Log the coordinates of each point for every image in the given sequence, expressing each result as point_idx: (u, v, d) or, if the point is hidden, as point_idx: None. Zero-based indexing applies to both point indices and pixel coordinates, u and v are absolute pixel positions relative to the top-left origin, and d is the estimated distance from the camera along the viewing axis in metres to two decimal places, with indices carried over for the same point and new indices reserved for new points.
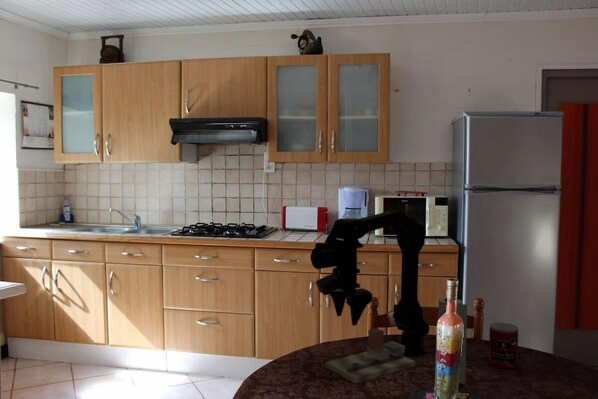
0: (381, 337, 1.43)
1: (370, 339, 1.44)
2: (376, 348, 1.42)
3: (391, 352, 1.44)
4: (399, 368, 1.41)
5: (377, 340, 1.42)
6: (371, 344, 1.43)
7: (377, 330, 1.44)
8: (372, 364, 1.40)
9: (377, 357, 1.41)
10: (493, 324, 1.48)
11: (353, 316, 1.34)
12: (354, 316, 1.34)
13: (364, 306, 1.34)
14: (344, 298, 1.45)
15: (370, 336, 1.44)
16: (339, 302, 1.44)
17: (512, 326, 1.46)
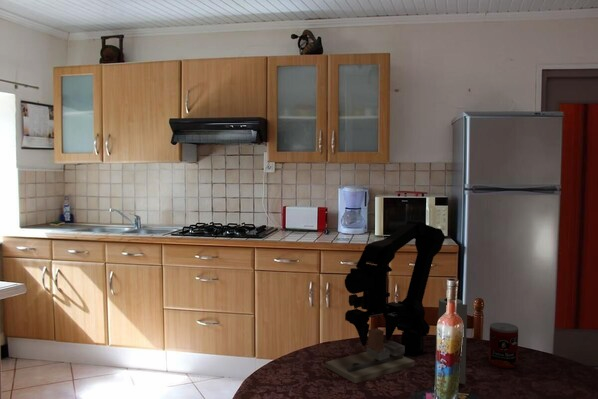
0: (381, 337, 1.43)
1: (370, 339, 1.44)
2: (376, 348, 1.42)
3: (391, 352, 1.44)
4: (399, 368, 1.41)
5: (377, 340, 1.42)
6: (371, 344, 1.43)
7: (377, 330, 1.44)
8: (372, 364, 1.40)
9: (377, 357, 1.41)
10: (493, 324, 1.48)
11: (359, 335, 1.41)
12: (360, 336, 1.41)
13: (363, 329, 1.38)
14: (393, 324, 1.45)
15: (370, 336, 1.44)
16: (388, 326, 1.46)
17: (512, 326, 1.46)
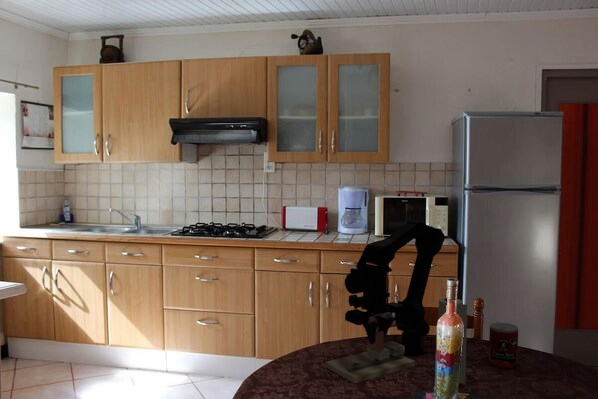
0: (381, 337, 1.43)
1: None
2: (376, 348, 1.42)
3: (391, 352, 1.44)
4: (399, 368, 1.41)
5: (377, 340, 1.42)
6: (371, 344, 1.43)
7: (377, 330, 1.44)
8: (372, 364, 1.40)
9: (377, 357, 1.41)
10: (493, 324, 1.48)
11: (367, 334, 1.43)
12: (367, 334, 1.43)
13: (371, 328, 1.40)
14: (385, 326, 1.43)
15: None
16: (381, 328, 1.45)
17: (512, 326, 1.46)
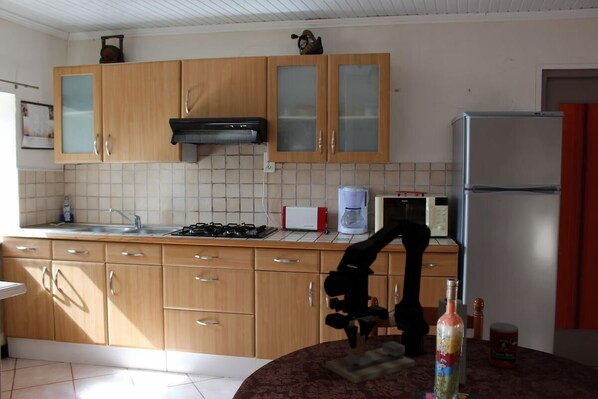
0: (362, 341, 1.39)
1: None
2: (357, 353, 1.38)
3: (391, 352, 1.44)
4: (399, 368, 1.41)
5: (358, 345, 1.38)
6: None
7: (358, 334, 1.40)
8: (372, 364, 1.40)
9: (358, 362, 1.37)
10: (493, 324, 1.48)
11: (348, 338, 1.39)
12: (348, 338, 1.39)
13: (352, 332, 1.36)
14: (367, 330, 1.39)
15: None
16: (362, 332, 1.41)
17: (512, 326, 1.46)
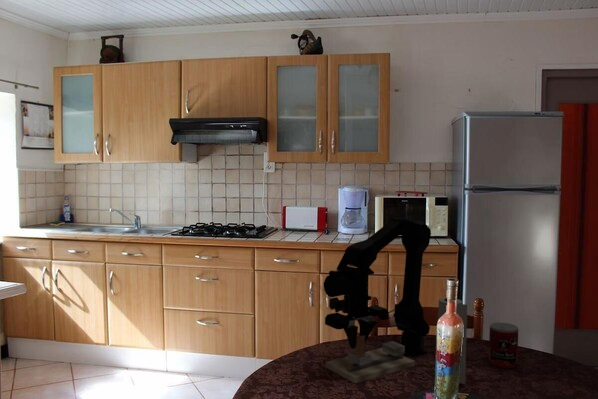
0: (362, 341, 1.39)
1: None
2: (357, 353, 1.38)
3: (391, 352, 1.44)
4: (399, 368, 1.41)
5: (358, 345, 1.38)
6: None
7: (358, 334, 1.40)
8: (372, 364, 1.40)
9: (358, 362, 1.37)
10: (493, 324, 1.48)
11: (347, 338, 1.39)
12: (348, 338, 1.39)
13: (352, 332, 1.36)
14: (367, 330, 1.39)
15: None
16: (362, 332, 1.41)
17: (512, 326, 1.46)
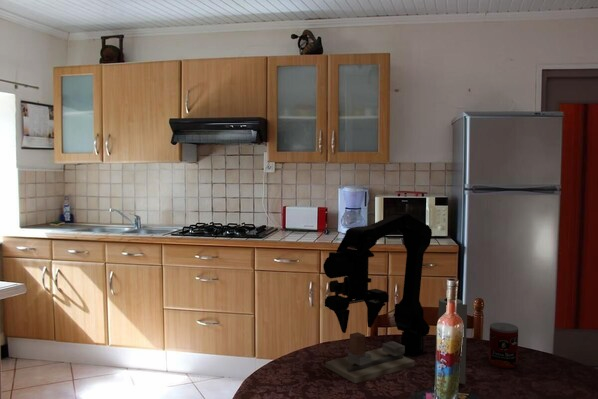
0: (362, 341, 1.39)
1: (351, 343, 1.40)
2: (357, 353, 1.38)
3: (391, 352, 1.44)
4: (399, 368, 1.41)
5: (358, 345, 1.38)
6: (352, 348, 1.39)
7: (358, 334, 1.40)
8: (372, 364, 1.40)
9: (358, 362, 1.37)
10: (493, 324, 1.48)
11: (339, 322, 1.37)
12: (340, 322, 1.37)
13: (343, 315, 1.34)
14: (374, 311, 1.41)
15: (351, 340, 1.40)
16: (370, 314, 1.42)
17: (512, 326, 1.46)
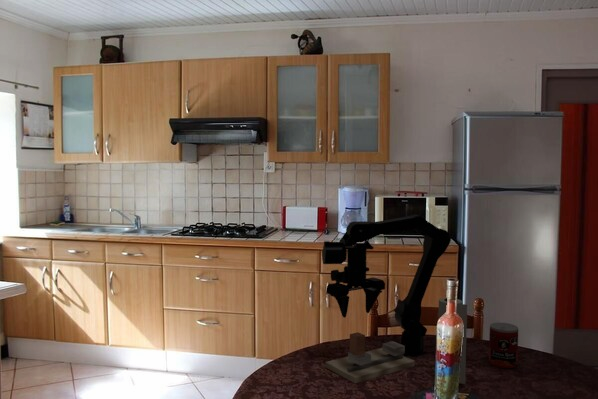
0: (362, 341, 1.39)
1: (351, 343, 1.40)
2: (357, 353, 1.38)
3: (391, 352, 1.44)
4: (399, 368, 1.41)
5: (358, 345, 1.38)
6: (352, 348, 1.39)
7: (358, 334, 1.40)
8: (372, 364, 1.40)
9: (358, 362, 1.37)
10: (493, 324, 1.48)
11: (340, 307, 1.50)
12: (340, 308, 1.50)
13: (343, 301, 1.47)
14: (372, 298, 1.53)
15: (351, 340, 1.40)
16: (368, 300, 1.55)
17: (512, 326, 1.46)
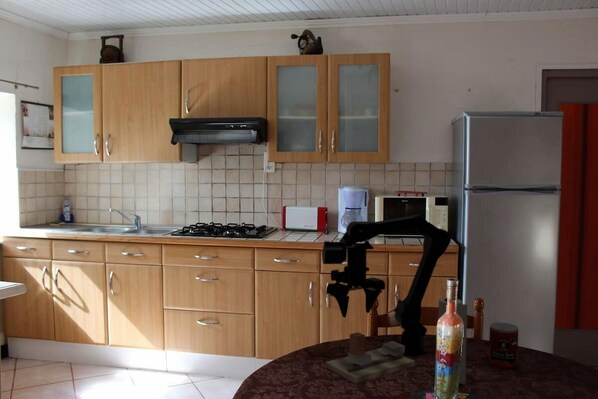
0: (362, 341, 1.39)
1: (351, 343, 1.40)
2: (357, 353, 1.38)
3: (391, 352, 1.44)
4: (399, 368, 1.41)
5: (358, 345, 1.38)
6: (352, 348, 1.39)
7: (358, 334, 1.40)
8: (372, 364, 1.40)
9: (358, 362, 1.37)
10: (493, 324, 1.48)
11: (340, 307, 1.50)
12: (340, 308, 1.50)
13: (343, 301, 1.47)
14: (372, 298, 1.53)
15: (351, 340, 1.40)
16: (368, 300, 1.55)
17: (512, 326, 1.46)
